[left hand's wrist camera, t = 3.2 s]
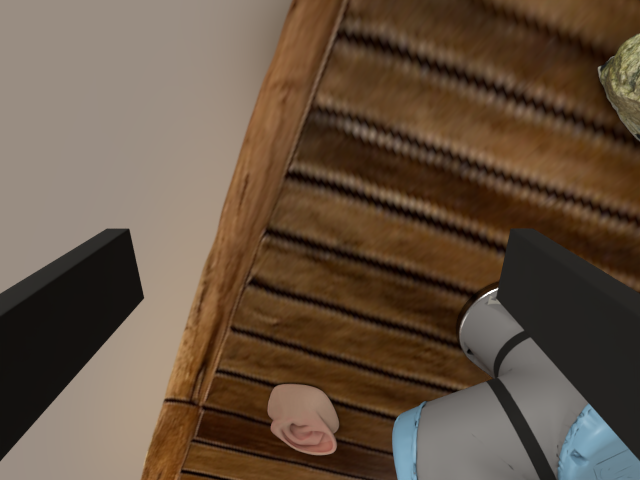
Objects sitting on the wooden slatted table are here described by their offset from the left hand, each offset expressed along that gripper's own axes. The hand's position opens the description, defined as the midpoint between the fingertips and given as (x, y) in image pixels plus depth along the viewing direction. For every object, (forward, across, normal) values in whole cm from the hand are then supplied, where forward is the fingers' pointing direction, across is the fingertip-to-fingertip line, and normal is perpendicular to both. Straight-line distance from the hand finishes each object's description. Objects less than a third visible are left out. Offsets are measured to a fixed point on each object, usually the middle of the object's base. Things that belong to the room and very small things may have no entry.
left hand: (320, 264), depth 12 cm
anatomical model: (+34, -3, -44) cm, 56 cm away
